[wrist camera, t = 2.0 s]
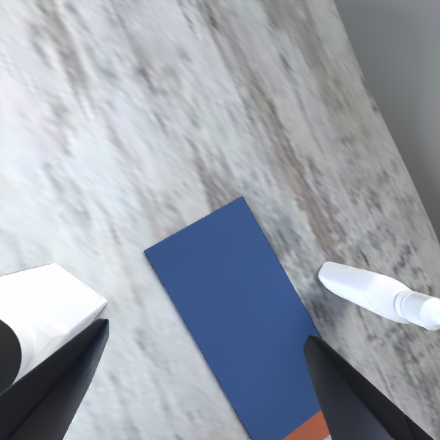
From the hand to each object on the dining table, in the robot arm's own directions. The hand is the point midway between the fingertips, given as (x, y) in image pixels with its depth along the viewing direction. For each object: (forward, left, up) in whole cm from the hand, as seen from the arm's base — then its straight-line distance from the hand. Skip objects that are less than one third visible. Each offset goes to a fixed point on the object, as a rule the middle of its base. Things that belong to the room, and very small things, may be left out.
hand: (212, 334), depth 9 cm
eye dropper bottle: (-10, -14, -15) cm, 23 cm away
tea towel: (-10, -2, -15) cm, 18 cm away
